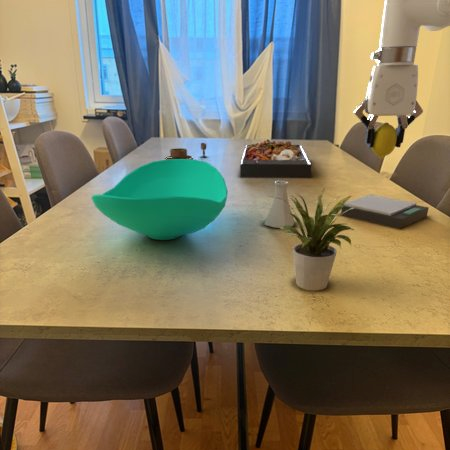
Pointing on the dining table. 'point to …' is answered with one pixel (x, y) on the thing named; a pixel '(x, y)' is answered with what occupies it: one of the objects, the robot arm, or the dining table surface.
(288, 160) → the food platter
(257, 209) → the dining table surface
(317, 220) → the house plant
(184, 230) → the table top decor
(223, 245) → the dining table surface
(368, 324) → the dining table surface
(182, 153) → the place setting
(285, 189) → the flask
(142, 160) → the dining table surface
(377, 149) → the lemon
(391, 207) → the scale
